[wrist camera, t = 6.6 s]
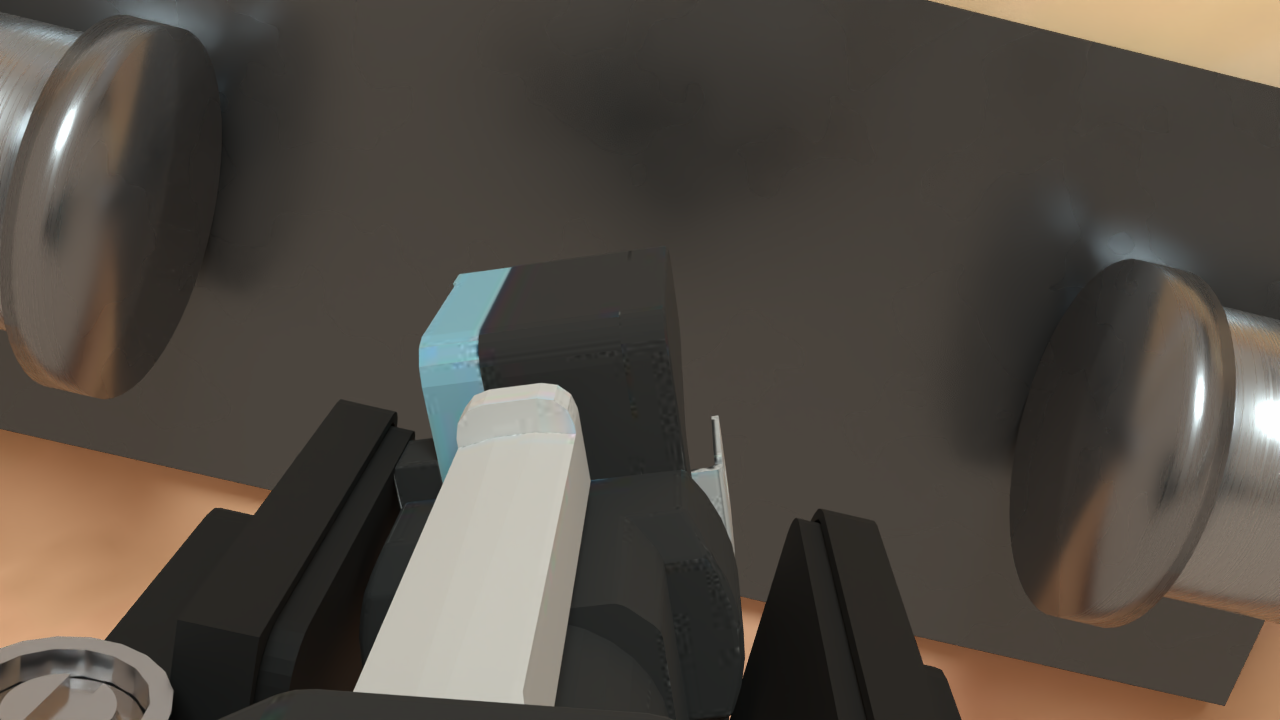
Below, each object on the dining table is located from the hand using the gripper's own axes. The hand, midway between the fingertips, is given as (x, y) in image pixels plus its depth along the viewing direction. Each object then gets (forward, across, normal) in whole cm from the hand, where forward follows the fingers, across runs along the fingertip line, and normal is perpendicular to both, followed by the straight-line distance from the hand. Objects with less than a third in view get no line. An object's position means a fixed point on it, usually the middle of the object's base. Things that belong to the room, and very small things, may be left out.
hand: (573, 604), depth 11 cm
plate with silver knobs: (+12, 0, 0) cm, 12 cm away
